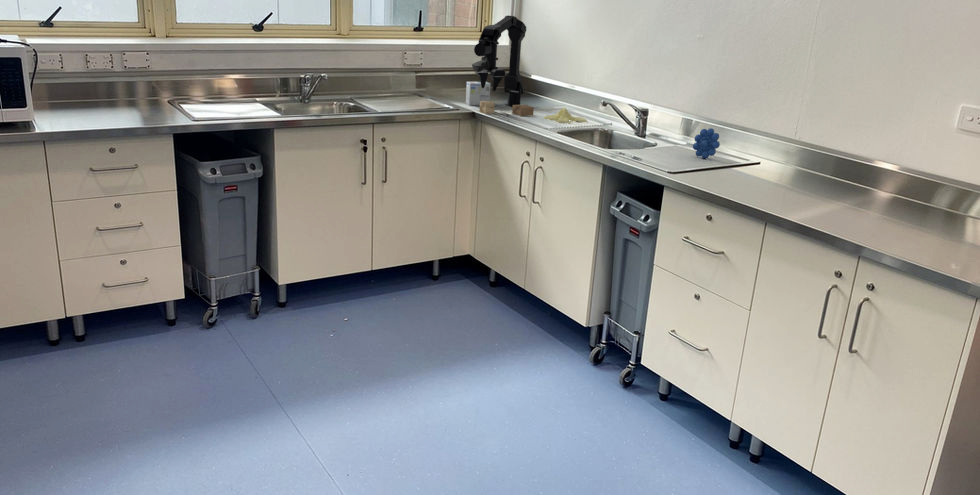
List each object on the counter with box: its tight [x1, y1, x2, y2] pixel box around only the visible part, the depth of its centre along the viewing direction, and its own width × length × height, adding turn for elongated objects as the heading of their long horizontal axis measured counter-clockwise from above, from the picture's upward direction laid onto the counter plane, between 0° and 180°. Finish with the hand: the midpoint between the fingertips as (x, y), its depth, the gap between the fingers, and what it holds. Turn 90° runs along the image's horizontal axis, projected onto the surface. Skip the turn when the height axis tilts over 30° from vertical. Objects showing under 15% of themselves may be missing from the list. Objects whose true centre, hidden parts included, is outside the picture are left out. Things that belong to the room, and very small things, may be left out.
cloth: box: [543, 107, 588, 125], centre depth 376 cm, size 22×19×6 cm
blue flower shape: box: [692, 127, 721, 159], centre depth 312 cm, size 12×7×12 cm, turn 39°
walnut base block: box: [511, 104, 534, 117], centre depth 381 cm, size 7×7×4 cm
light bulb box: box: [465, 81, 491, 106], centre depth 400 cm, size 11×7×11 cm, turn 108°
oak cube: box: [479, 101, 496, 115], centre depth 381 cm, size 5×5×5 cm
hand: (488, 89), depth 378 cm, fingers open, 9 cm apart
